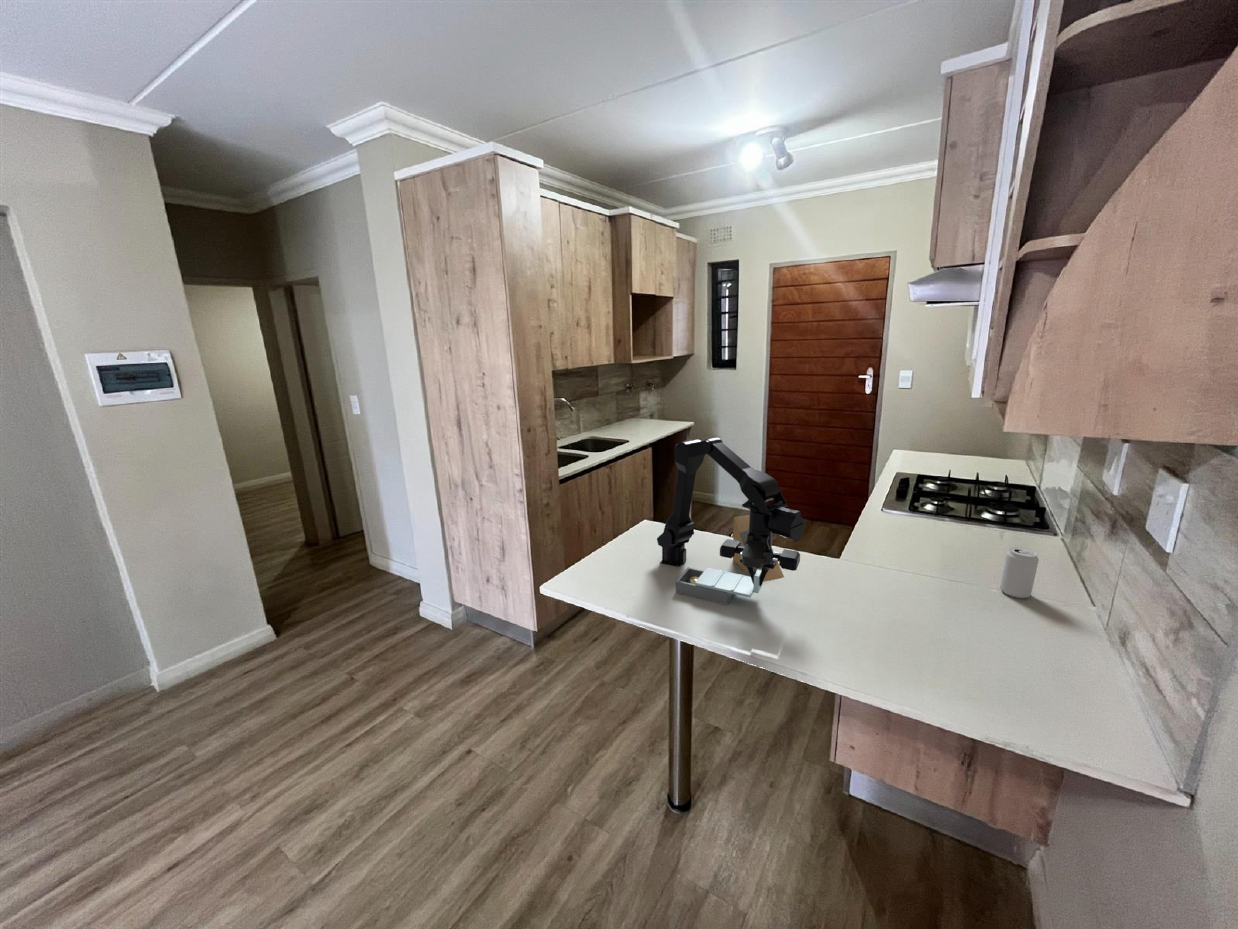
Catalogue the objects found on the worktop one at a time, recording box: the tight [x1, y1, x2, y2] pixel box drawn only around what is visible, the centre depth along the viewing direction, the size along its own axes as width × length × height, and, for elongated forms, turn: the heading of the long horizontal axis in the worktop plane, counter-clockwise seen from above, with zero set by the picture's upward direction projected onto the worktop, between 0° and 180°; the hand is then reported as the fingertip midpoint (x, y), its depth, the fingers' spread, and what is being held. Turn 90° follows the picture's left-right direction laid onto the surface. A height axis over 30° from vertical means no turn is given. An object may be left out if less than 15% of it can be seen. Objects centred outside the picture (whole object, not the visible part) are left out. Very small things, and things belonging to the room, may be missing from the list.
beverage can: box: [999, 546, 1040, 599], centre depth 124 cm, size 6×6×12 cm
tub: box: [675, 566, 734, 606], centre depth 130 cm, size 14×9×4 cm, turn 61°
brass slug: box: [690, 577, 699, 584], centre depth 131 cm, size 3×3×3 cm
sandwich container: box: [732, 514, 785, 583], centre depth 140 cm, size 9×15×15 cm, turn 18°
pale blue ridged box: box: [695, 567, 762, 598], centre depth 126 cm, size 16×9×5 cm, turn 61°
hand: (757, 584), depth 122 cm, fingers closed on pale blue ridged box
